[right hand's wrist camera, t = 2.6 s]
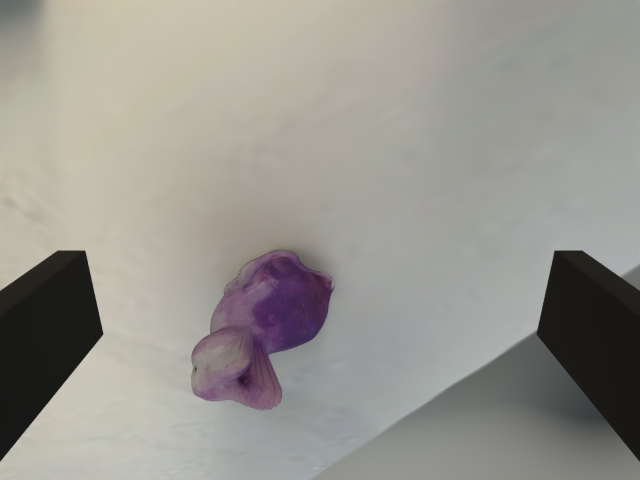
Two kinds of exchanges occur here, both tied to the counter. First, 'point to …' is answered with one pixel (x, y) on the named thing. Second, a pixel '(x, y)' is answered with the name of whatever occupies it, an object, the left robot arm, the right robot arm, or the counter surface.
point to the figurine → (259, 329)
